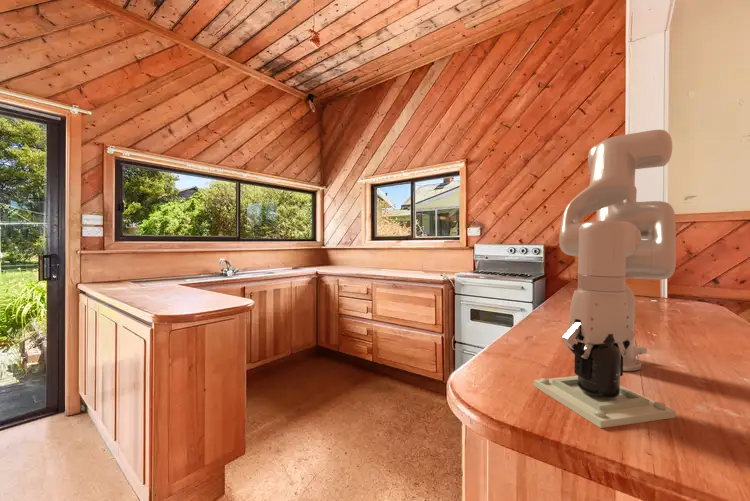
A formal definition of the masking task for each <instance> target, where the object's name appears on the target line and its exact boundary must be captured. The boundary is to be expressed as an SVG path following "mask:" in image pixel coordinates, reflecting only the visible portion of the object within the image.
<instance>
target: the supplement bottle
mask: <svg viewBox="0 0 750 501" xmlns="http://www.w3.org/2000/svg"><path fill="white" fill-rule="evenodd" d="M614 342H615V340H614V338H613V334H608V337H607V336H606V339H605V341H603V343H604V344H600V345H593V347H592V350H591V352H590V354H589V357H588V358H589V359H591V378H590V379H589V380H586V379H584V378H582V377H580V376H578V375H577V376H578V386H579V388H580V389H581V390H583V391H584V392H586V393H588V394H591V395H594V396H598V397H603V398H615V397H617V396H618V395H619V393H620V386H621V376H620V368H621V352H620V350H619V348H618V347H617V346H615V345H614V344H613V343H614ZM584 347H585V344H582V346H581V348H582V349H584Z"/></svg>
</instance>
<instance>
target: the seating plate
mask: <svg viewBox="0 0 750 501" xmlns="http://www.w3.org/2000/svg"><path fill="white" fill-rule="evenodd" d="M533 387H535V388H536V389H538V390H540V391H541V392H542V393H544V394H546V395H547V396H549V397H551V398H552V399H553V400H556V401H557V402H559V403H560V404H562V405H563V406H565V407H566V408H568V409H570V410H571V411H573V412H574V413H576V414H577V415H579V416H580V417H582V418H583V419H586V420H587V421H588V422H590V423H592V424H593V425H595V426H597V427H598V428H600V429H604V428H611V427H619V426H626V425H633V424H634V425H635V424H639V423H640V424H641V423H646V422H653V421H661V420H666V419H669V420H670V419H675V418H676V410H674V409H673V408H670V407H668V406H666V404H664V403H662V402H659V401H655V400H652V399H650V398H649V397H647V396H644V395H641V394H640V393H637V392H635V391H633V390H631V389H629V388H627V387H625V386H622V385H620V393H619V395H618V396H617V397H615V398H603V397H598V396H594V395H591V394H588V393H586V392H584V391H583V390H581V389H580V388H579V386H578V375H573V376H572V375H571V376H563V377H562V376H560V377H551V378H544V377H540V378H539V379H534V380H533Z"/></svg>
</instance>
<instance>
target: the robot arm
mask: <svg viewBox="0 0 750 501" xmlns="http://www.w3.org/2000/svg"><path fill="white" fill-rule="evenodd" d="M672 154H673V141H672V137H671V135H670V133H669V132H668V131H667V130H664V129H653V130H652V129H651V130H646V131H639V132H634V133H627V134H621V135H616V136H611V137H608V138H606V139H603V140H602V141H601V142H598V143H597V144H595V145H594V146H592V147H591V148H590V149H589V151H588V155H587V164H588V169H589V173H590V178H589V185H588V186H587V187H586V188H584V189H583V190H581V192H579V193H578V194H576V195H575V196H574V198H572V200H571V201H570V202H569V203H568V204H567V205H566V207H565V208H564V211H563V214H562V218H561V222H560V224H561V225H560V227H559V228H560V229H559V235H558V244H559V248H560V250H561V251H562V252H563V254H565V255H567V256H572V257H578V260H577V262H578V265H577V268H578V269H577V289H575V290H574V291H573V293H572V294H573V295H572V298H571V302H570V306H569V307H570V308H569V313H568V314H569V315H568V325H567V326H568V329H567V331H566V332H565V333H564V334H563V335H562V341H563V342H564V344H566V346H567V348H568V349H569V350H570V351H571V354H573V355H574V367H573V368H574V374H575V376H580V377H582V378H584V379H586V380H589V379H590V378H591V359H589V358H588V357H589V354H590V352H591V350H592V347H593V345H600V344H604V343H603V341H605V339H606V336H607V337H608V334H613V338H614V340H615V342H614V343H613V344H614V345H615V346H617V347H618V348H619V350H620V352H621V368H620V377H622V376H624V372H635V371H639V370H641V369H642V363H641V361H640V360H639V359H637V356H638V355H645V354H647V353H648V350H647V348H646V347H645V346H643V345H642V346H636V345H634V344H635V343H634V342H635V335H636V333H635V318H636V317H635V312H636V310H635V308H636V297H635V294H634V292H633V290H632V289H631V288H630V287H629V286H628V285H627V284H626V279H639V280H659V281H660V280H667V279H669V278H671V277H672V276H673V275H674V273H675V270H676V267H677V246H676V245H677V238H676V237H677V236H676V230H677V229H676V227H677V226H676V223H677V222H676V216H675V210H674V208H673V206H672V205H671V203H668V202H666V201H661V200H659V201H657V200H653V201H652V200H650V201H637V191H638V190H637V187H636V183H635V182H636V170H640V169H641V170H643V169H652V168H660V167H665V166H666V165H667V164H668V163H669V161H670V160H671V157H672ZM594 212H596V214H595V215H596V216H595V220H590V221H582V222H580V221H581V220H582V219H583V218H585V217H586V216H588V215H589V214H593V213H594ZM582 344H585V347H584V349H582V348H581V346H582Z"/></svg>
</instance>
